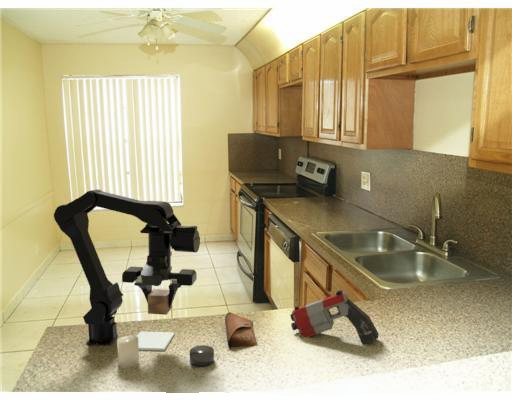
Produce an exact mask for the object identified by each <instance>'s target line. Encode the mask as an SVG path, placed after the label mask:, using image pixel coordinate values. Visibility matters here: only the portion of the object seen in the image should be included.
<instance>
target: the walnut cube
mask: <svg viewBox="0 0 512 400" xmlns="http://www.w3.org/2000/svg"><path fill="white" fill-rule="evenodd" d="M168 300H169V289H162V288H161V289H160V288H153V289H152V292H151V293H150V294H149V295H148V303H147V314H148V315H164V316H167V315H168V313H169V312H170V311H171V310H172V309H173V304H172V305H171V307H170V308H169V304H168Z"/></svg>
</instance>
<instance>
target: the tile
mask: <svg viewBox="0 0 512 400" xmlns="http://www.w3.org/2000/svg"><path fill="white" fill-rule="evenodd" d="M175 335H176V334H175V332H171V331H170V332H167V331H166V332H165V331H139V332H138V334H136V335H135V336H136V337H138V345H139V351H163V352H164V351H166V349H167V347H168V346H169V344H170V343H171V341H172V339H173V338H174V336H175Z"/></svg>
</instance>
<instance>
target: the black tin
mask: <svg viewBox="0 0 512 400" xmlns="http://www.w3.org/2000/svg"><path fill="white" fill-rule="evenodd" d="M214 362H215V349H214V348H213V347H212V346H209V345H196V346H193V347H191V348H190V349H189V365H190V366H192V367H194V368H203V369H204V368H207V367H210V366H212V365H213V364H214Z"/></svg>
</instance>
